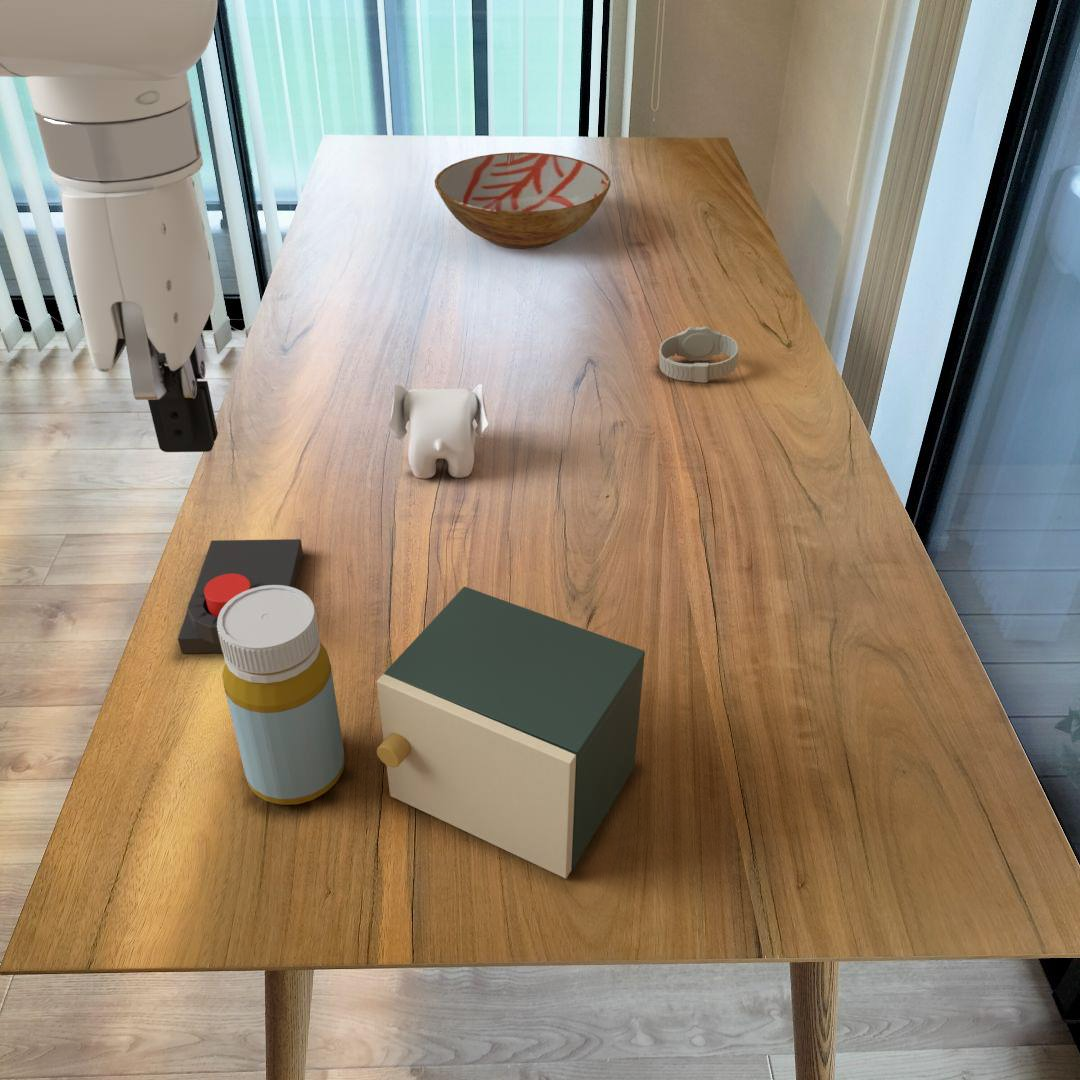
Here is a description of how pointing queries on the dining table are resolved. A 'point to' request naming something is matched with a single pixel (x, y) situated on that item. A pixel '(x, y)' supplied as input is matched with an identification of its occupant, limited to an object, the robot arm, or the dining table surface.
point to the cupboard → (538, 689)
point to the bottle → (280, 694)
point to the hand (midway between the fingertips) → (189, 444)
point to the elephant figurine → (439, 427)
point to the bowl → (522, 196)
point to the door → (478, 774)
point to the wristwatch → (698, 354)
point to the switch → (245, 558)
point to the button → (224, 591)
